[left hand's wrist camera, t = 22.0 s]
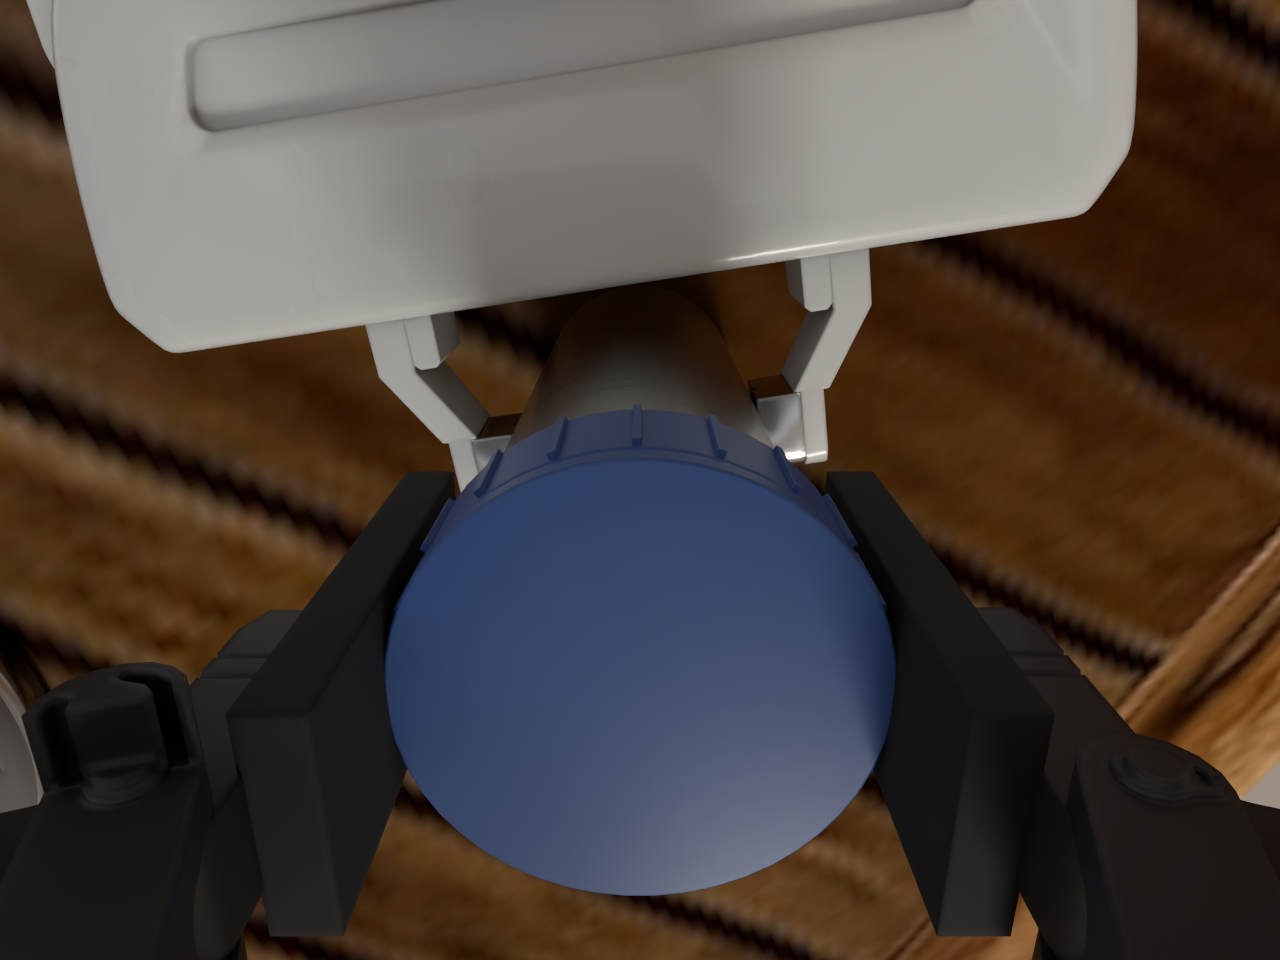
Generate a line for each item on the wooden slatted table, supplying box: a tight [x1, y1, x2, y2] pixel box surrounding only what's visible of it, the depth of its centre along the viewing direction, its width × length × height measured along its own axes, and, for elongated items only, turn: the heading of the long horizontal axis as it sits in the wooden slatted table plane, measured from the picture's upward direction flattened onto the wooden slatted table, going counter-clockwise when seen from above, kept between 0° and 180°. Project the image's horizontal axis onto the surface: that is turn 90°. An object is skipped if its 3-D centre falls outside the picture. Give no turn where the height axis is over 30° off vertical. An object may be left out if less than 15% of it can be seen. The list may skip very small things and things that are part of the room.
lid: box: [384, 404, 896, 896], centre depth 11 cm, size 6×6×2 cm
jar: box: [505, 284, 774, 451], centre depth 19 cm, size 5×5×16 cm
